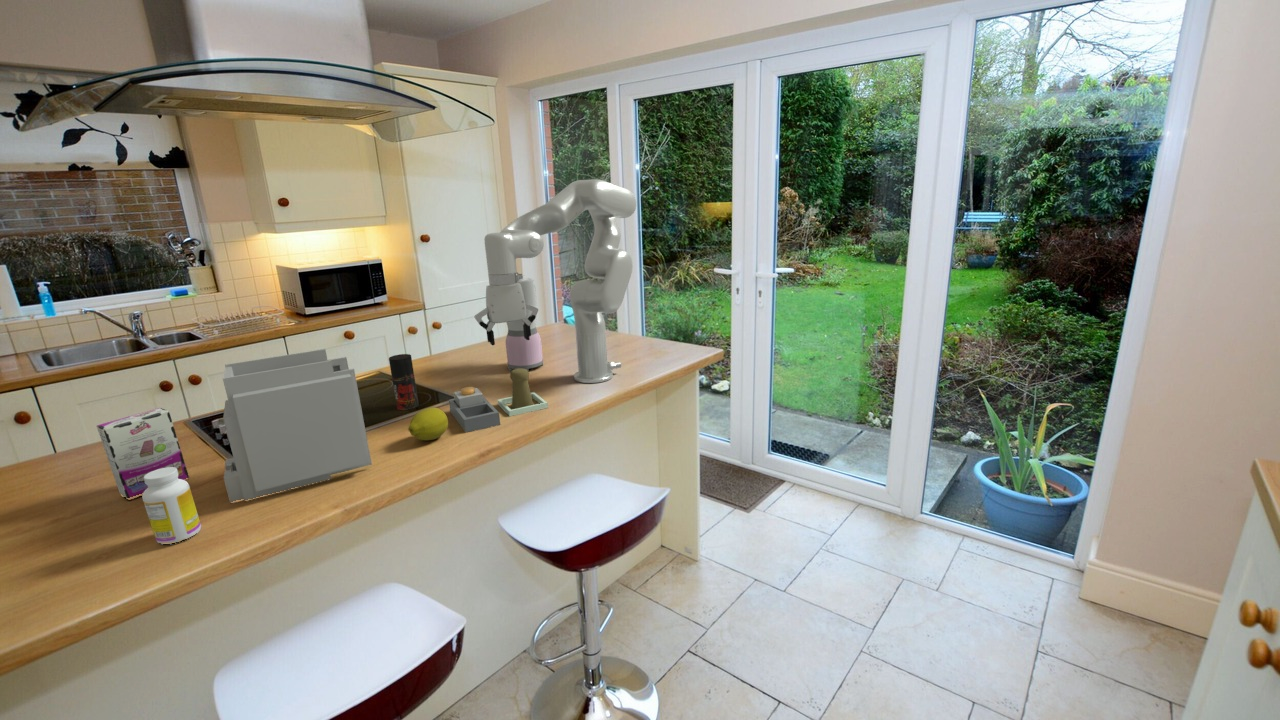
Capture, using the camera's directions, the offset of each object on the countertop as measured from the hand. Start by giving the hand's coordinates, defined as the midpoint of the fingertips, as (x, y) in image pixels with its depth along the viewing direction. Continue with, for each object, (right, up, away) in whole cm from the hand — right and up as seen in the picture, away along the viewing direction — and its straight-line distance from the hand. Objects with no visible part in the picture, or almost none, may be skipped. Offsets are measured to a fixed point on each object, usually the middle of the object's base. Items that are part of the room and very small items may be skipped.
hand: (509, 341), depth 159 cm
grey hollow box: (-9, -21, -2) cm, 23 cm away
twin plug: (-11, -20, +1) cm, 23 cm away
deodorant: (-32, -19, +9) cm, 38 cm away
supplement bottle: (-49, -38, -53) cm, 81 cm away
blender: (-3, -7, +44) cm, 45 cm away
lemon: (-16, -25, -15) cm, 34 cm away
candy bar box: (-69, -33, -34) cm, 84 cm away
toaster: (-38, -31, -31) cm, 58 cm away
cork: (+3, -18, +5) cm, 19 cm away
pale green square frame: (+3, -18, +5) cm, 19 cm away
